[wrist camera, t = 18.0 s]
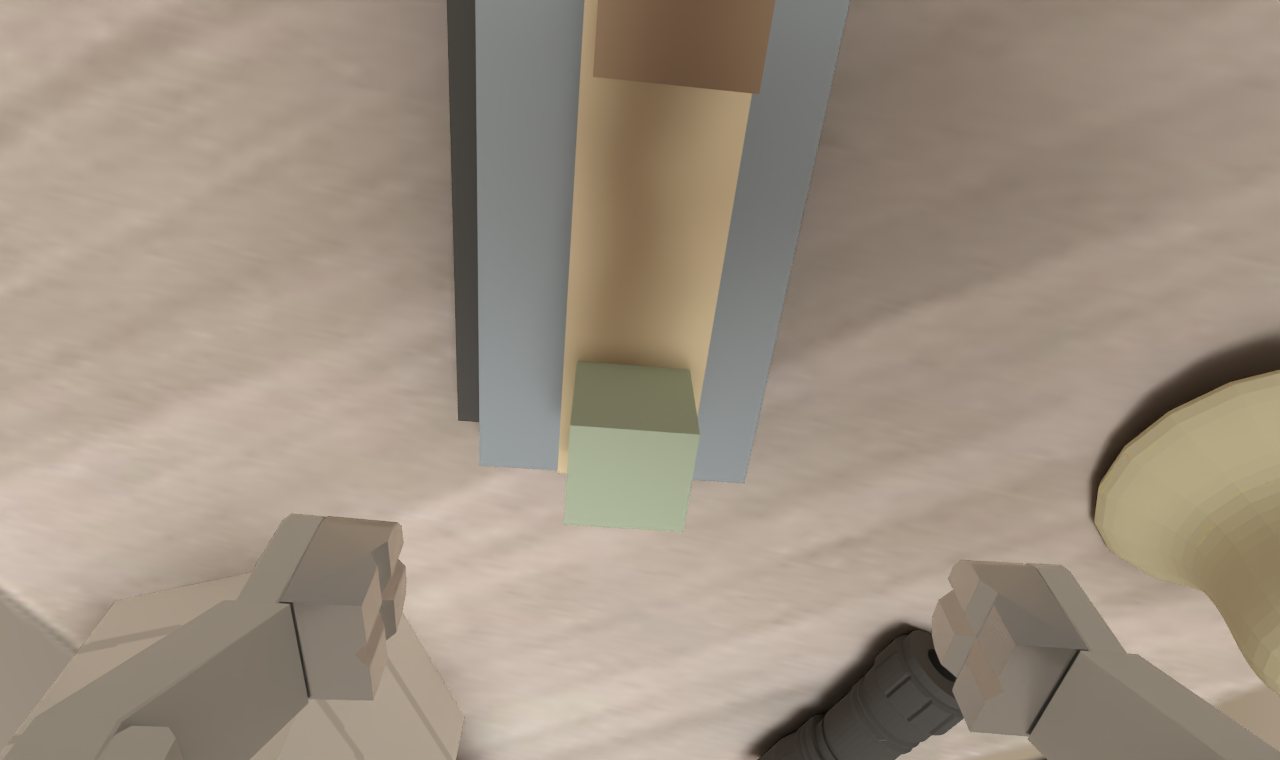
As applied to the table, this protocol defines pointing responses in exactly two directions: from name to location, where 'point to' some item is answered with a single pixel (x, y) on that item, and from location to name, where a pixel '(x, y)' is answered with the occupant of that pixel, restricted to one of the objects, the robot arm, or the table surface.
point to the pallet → (647, 222)
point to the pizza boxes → (324, 729)
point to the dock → (542, 219)
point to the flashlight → (881, 709)
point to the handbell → (1208, 508)
